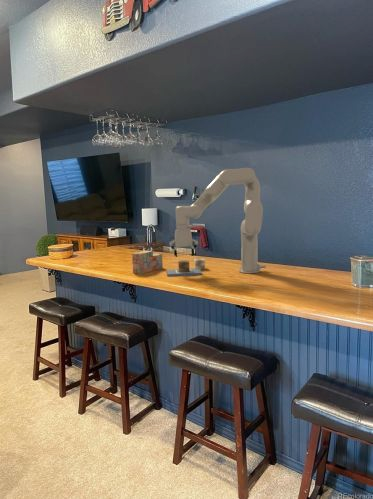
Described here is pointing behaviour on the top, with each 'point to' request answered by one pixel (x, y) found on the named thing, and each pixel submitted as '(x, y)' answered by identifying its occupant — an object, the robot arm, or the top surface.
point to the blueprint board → (176, 272)
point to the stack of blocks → (146, 261)
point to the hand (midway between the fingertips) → (184, 256)
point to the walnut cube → (183, 266)
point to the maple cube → (199, 264)
